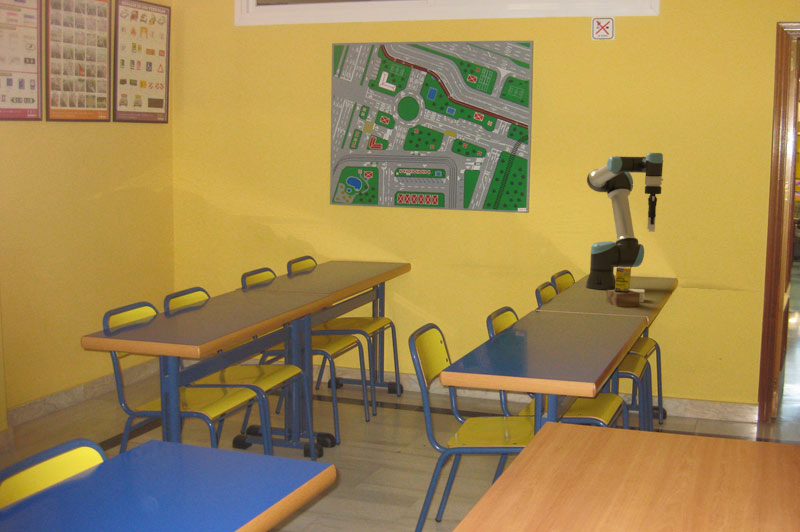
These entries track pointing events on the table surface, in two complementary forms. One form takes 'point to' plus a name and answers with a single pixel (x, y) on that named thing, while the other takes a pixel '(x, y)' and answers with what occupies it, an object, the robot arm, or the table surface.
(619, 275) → the supplement box
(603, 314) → the table surface
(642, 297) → the off-white block
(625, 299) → the walnut block
